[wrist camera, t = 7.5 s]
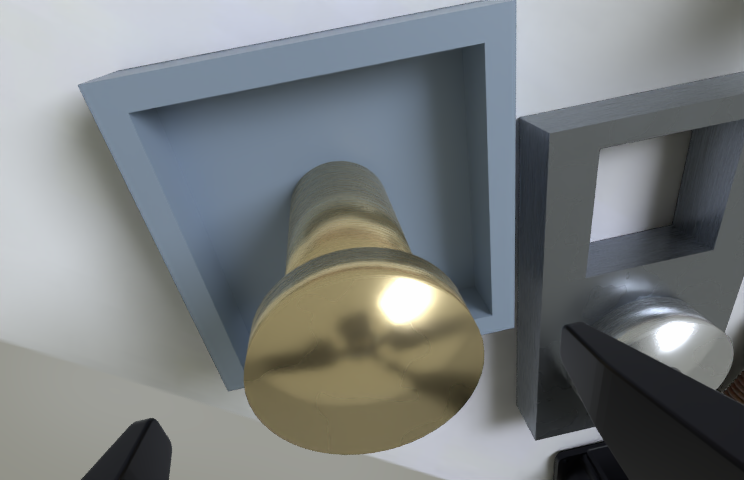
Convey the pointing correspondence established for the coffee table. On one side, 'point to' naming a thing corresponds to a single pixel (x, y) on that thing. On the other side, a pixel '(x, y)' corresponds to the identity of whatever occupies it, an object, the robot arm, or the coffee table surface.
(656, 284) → the block
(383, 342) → the pin
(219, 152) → the tray
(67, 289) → the coffee table surface
